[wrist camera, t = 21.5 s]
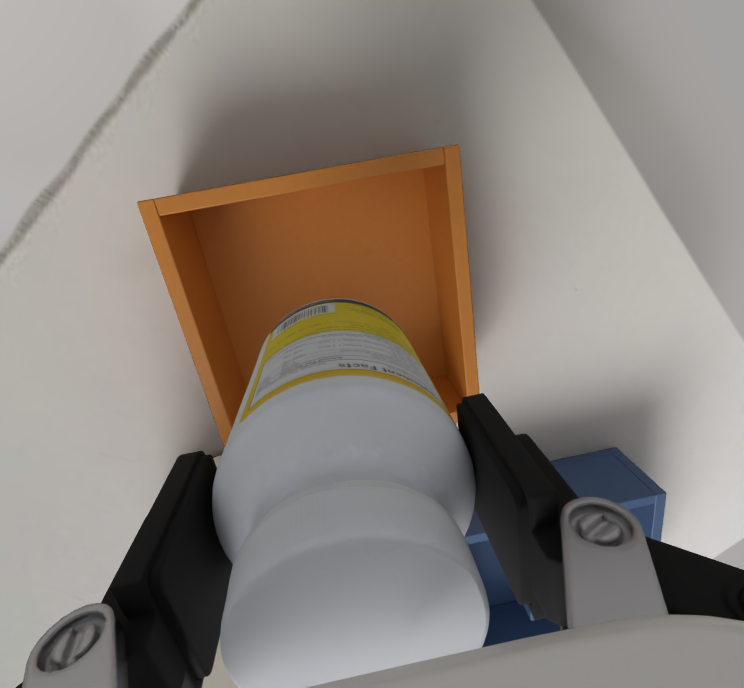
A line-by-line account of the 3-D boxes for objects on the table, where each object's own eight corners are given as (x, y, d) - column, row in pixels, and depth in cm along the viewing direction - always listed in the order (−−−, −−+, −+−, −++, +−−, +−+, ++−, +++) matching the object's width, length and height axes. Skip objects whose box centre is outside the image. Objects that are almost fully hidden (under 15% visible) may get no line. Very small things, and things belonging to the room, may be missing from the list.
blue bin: (616, 446, 35) (666, 492, 30) (608, 578, 41) (649, 635, 36) (435, 485, 35) (455, 539, 30) (453, 613, 41) (472, 677, 35)
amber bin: (431, 151, 26) (459, 143, 20) (455, 378, 31) (481, 417, 26) (174, 197, 25) (135, 202, 20) (247, 420, 31) (232, 469, 26)
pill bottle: (332, 457, 20) (344, 795, 9) (225, 364, 17) (67, 662, 7) (441, 369, 19) (606, 630, 8) (342, 258, 16) (381, 408, 6)
